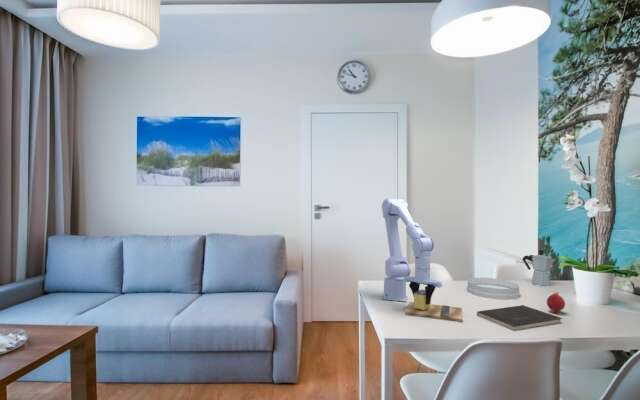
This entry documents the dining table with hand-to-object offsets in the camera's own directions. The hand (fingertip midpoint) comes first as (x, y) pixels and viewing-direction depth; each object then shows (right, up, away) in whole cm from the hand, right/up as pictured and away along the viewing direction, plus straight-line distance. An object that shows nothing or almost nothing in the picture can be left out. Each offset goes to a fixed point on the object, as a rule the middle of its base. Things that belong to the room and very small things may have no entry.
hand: (422, 302), depth 133 cm
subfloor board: (+4, -3, -2) cm, 5 cm away
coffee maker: (+74, -4, +45) cm, 87 cm away
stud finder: (0, -2, 0) cm, 2 cm away
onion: (+52, -4, 0) cm, 52 cm away
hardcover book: (+33, -4, -8) cm, 34 cm away
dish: (+42, -4, +28) cm, 50 cm away
